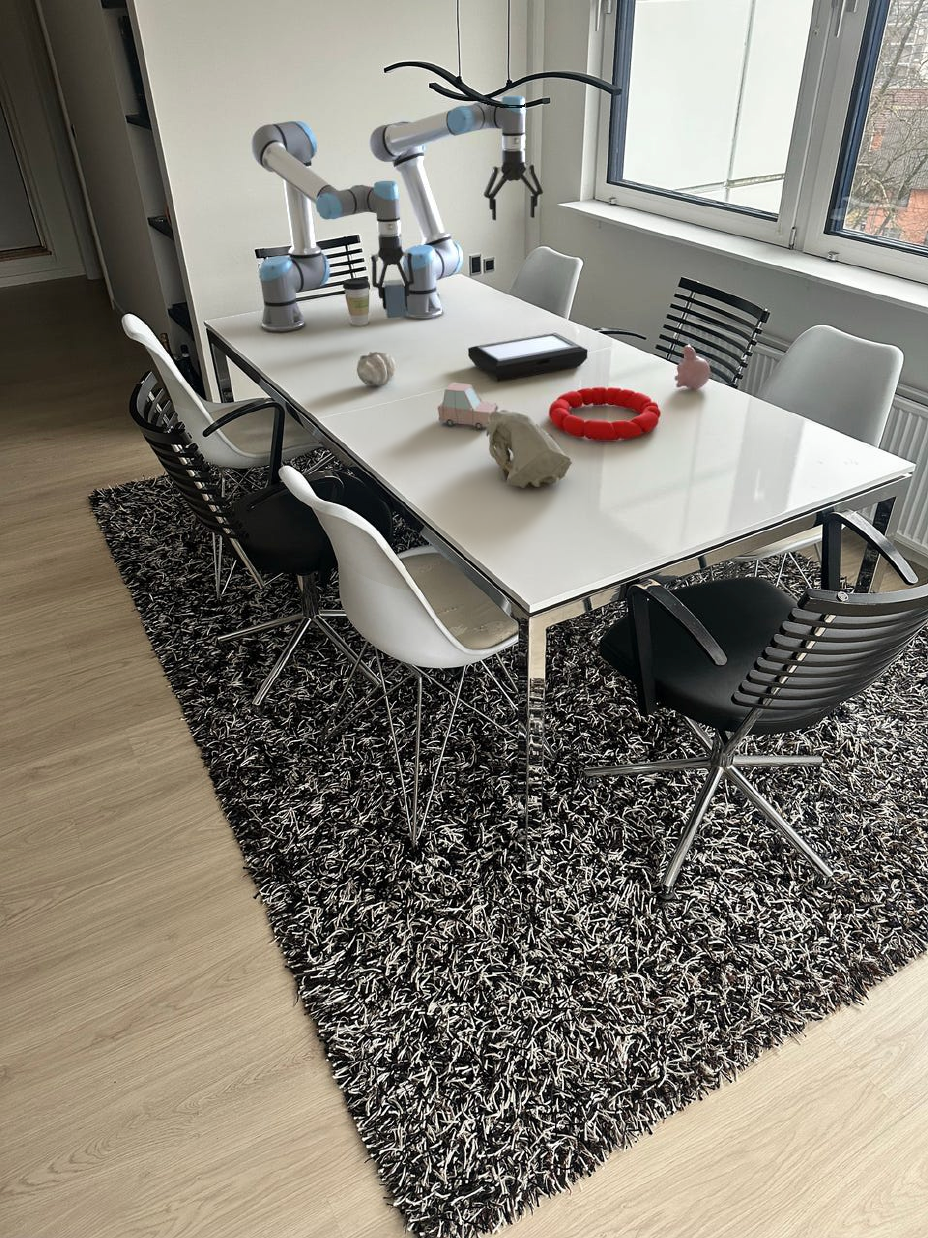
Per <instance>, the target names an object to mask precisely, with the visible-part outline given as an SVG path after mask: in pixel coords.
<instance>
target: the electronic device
mask: <svg viewBox="0 0 928 1238" xmlns="http://www.w3.org/2000/svg"><path fill="white" fill-rule="evenodd" d="M467 353H468V354H467V355H468V358H469V359H470V360H471V361H472V363H473V364H474V366H475V367H477V368H478V369H479V370H481V371H483V372H484V373H486V374H487V375H489V376H490V377H491V378H493V379H494V380H496V381H497V382H500V381H507V380H511V379H517V378H522V377H528V376H534V375H539V374H544V373H550V372H555V371H561V370H567V369H571V368H578V367H580V366H582V365H583V363H584V362H585V361H586V360H587V359H588V349H586V348H585V347H583V346H581V345H579V344H578V343H576V342H574V341H572V340H570V339H568V338H566V337H565V336H562V335H560V333H557V332H551V333H545V334H539V335H533V336H528V337H522V338H515V339H509V340H505V341H497V342H492V343H485V344H481V345H475V346H474V345H473V346H471V347H468V349H467Z"/></svg>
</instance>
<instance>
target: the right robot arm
mask: <svg viewBox="0 0 928 1238" xmlns="http://www.w3.org/2000/svg"><path fill="white" fill-rule="evenodd" d="M481 102H482V101H475V102H474V103H472V104H470V105H469V104H468V105H460V106H456V107H454V108H452V109H449V110H447V111H443V112H439V113H437V114H433V115H430V116H427V117H423V118H421V119H417V120H413V121H403V120H402V121H400V122H394V123H389V124H383V125H382V124H381V125H380V126H377V127H376V128H375V129H374V130H373V131H372V133H371V135H370V137H369V148H370V151H371V153H372V155H374V158H376V159H377V160H379V161H380V162H384V163H391V162H392V165H393V168H394V170H396V171H397V172H399V173H400V176H401V178H402V181H403V185H404V186H405V190H406V193H407V195H408V199H409V202H410V205H411V208H412V211H413V215H414V217H415V220H416V223H417V226H418V229H419V231H420V234H421V238H422V241H421V244H419V245H413V246H411V247H408V248H407V249H406V250H404V252H411V254H412V258H411V264H412V271H413V278H414V284H411V285H410V286H409V296H406V298H407V307H406V317H404V318H405V319H409V320H415V321H416V320H417V321H418V320H419V321H424V320H432V319H435V318H439V317H441V316H442V315H443V307H442V304H441V301H440V299H439V298H440V295H439V293H438V292H437V281H439V280H442V279H444V278H449V277H452V276H453V275H455V274H456V273H458V272H459V271H460V269H461V267H462V266H463V265H462V264H463V262H464V254H463V250H462V247H461V246H460V244H458V243H457V242H456V241H454V240H453V239H452V237H451V234H450V233H448V232H446V231H445V229H444V225H443V222H442V219H441V215H440V213H439V210H438V207H437V204H436V201H435V198H434V195H433V191H432V189H431V186H430V185H431V184H430V182H429V180H428V176H427V173H426V169H425V167H424V165H423V164H424V160H425V158H426V157H425V154H424V152H425V150H426V145H428V144H432V143H436V142H439V141H442V140H446V139H449V138H452V137H456V136H460V135H463V134H464V135H465V134H468V133H471V132H475V131H476V132H477V131H482V130H487V129H499V130H501V148H502V149H503V150H502V151H501V162H502V163H501V166H495V165H493V166H492V173H491V176H490V177H489V180H488V183H487V185H486V187H485V190H484V192H483V197H484V198H486V199H488V207H489V208H488V209H489V210H491V219H492V220H493V221H497V199H496V196H497V195H498V193H499V191H500V190H501V189H502V187H503V186H504V185H505V183H506V182H507V181H509V182H513V181H520V180H521V182H522V183H523V184H524V185H525V186H526V188H527V189H528V190H529V192H530V193H531V194H532V195H530V206H529V207H530V208H529V209H530V210H529V211H530V214H529V215H530V218H532V219H534V218H535V209H536V207H538V198H539V196H540V195H543V193H544V190H543V189H542V186H541V184H540V181H539V180H538V177H537V175H536V173H535V165H533V164H532V163H529V164H528V165H527V164H526V162H525V160H526V159H525V158H526V157H525V156H526V153H525V152H526V151H525V148H526V142H525V141H526V133H525V130H526V113H527V112H526V106H525V107H522V108H500V107H495V106H491V105H487V104H484V103H481ZM501 103H502V104H508V105H524V104H525V105H526V100H525V97H524V96H522V95H505V96H503V97H502V98H501ZM509 107H516V106H509ZM526 171H527V172H528V173H529V175H530V177H531V180H532V182H533V184H534V186H535V188H536V189H535V188H534V187H533V186H532V184H531V183H530V182H529V180H528V179H527V178H526V176H525V172H526ZM500 172H501V174H502V175H501V177H500V179H499V180H498V182H497V184H495V182H496V180H497V177H498V175H499V174H500ZM494 184H495V186H494ZM493 187H494V188H493ZM402 268H403V271H404V273H405V276H406V278H407V281H409V273H408V267H407V259H405V256H404V255H403V257H402Z"/></svg>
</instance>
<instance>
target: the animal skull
mask: <svg viewBox="0 0 928 1238" xmlns="http://www.w3.org/2000/svg"><path fill="white" fill-rule="evenodd" d="M485 436H486V438H487V437H489V438H488V440H489V444H488V445H489V446H488V450H489V454H490V456H491V457H492V458H493V459H494V460H495V462H496V464H497V466H499V468H500V470H501V471H502V472H501V478H502V479H507V480H506V484H507V486H517V487H518V486H519V488H523V489H524V488H526V486H527V485H529V483H531V485H533V486H534V487H536V488H540V485H541V484H542V482H544V483H549V484H550V485H553V484H555V483H556V482H557V480H561V479H563V478H565V476H566V474H567V472H568V471H569V469H570V467H571V466H572V464H573V462H572V461H571V458H570V457H568V456H567V455H565V453H564V451H562V449H561V448H560V446H559V444H557V443H556V439H555V438H554V436H553V435H551V434H550V433H548V432H547V431H546V430H545V429H544V428H542V427H541V426H539V425H538V424H537V423H536V424H535V422H534V421H533V419H532V418H531V417H530V416H529V415H527V414H524V413H519V412H515V411H509V410H507V409H502V410H500V411H499V410H497V411H496V412H492V413H491V414H490V422H488V423H487V427H486V435H485ZM511 453H512V454H511ZM511 455H512V457H513V458H512V460H511ZM507 474H508V475H507Z"/></svg>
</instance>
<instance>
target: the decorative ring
mask: <svg viewBox="0 0 928 1238" xmlns="http://www.w3.org/2000/svg"><path fill="white" fill-rule="evenodd" d="M583 405H584V406H586V407H587V406H591V405H593V406H604V405H608V406H614V407H619V408H624V409H628V410H632V411H635V412H636V413H638V414H639V415H637V416H635V417H632V418H631V419H630V420H625V419H624V420H623V419H622V420H614V421H611V422H609V421H607V420H606V421H605V420H593V419H587V420H586V421H585V419H584V418H582V417H579V416H577V415H573V414H571V413H570V410H571V409H579V408H581V407H582V406H583ZM548 416H549V419H550V422H551V423H552V425H553V426H554V427H555V428H556V429H558V430H559V431H561V432H563V433H567V434H568V435H569V436H573V437H576V438H580V439H582V438H583V437H585V438H586V439H587V440H591V441H601V442H602V441H603V442H608V441H609V442H610V441H611V442H612V441H615V442H616V441H618V440H630V439H634V438H638V437H641V436H642V434H647V433H650V432H651V431H653V430H654V429H655V428H656V427H657V426H658V424H659V422H660V421H659V420H660V417H661V410H660V408H659V405H658V403H657V402H656V401H652V399H651V397H649V396H648V395H646V394H644V393H642V392H635V391H634V390H632V389H628V388H624V389H622V388H620V387H613V386H612V387H611V386H610V387H608V388H606V387H604V386H594V387H585V388H584V387H583V388H580V389H578V390H571V391H568V392H565V393H563V394H561V395H560V396H558V397H557V398H556V400H554V401H552V403H551V404H550V407H549V409H548Z"/></svg>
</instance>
